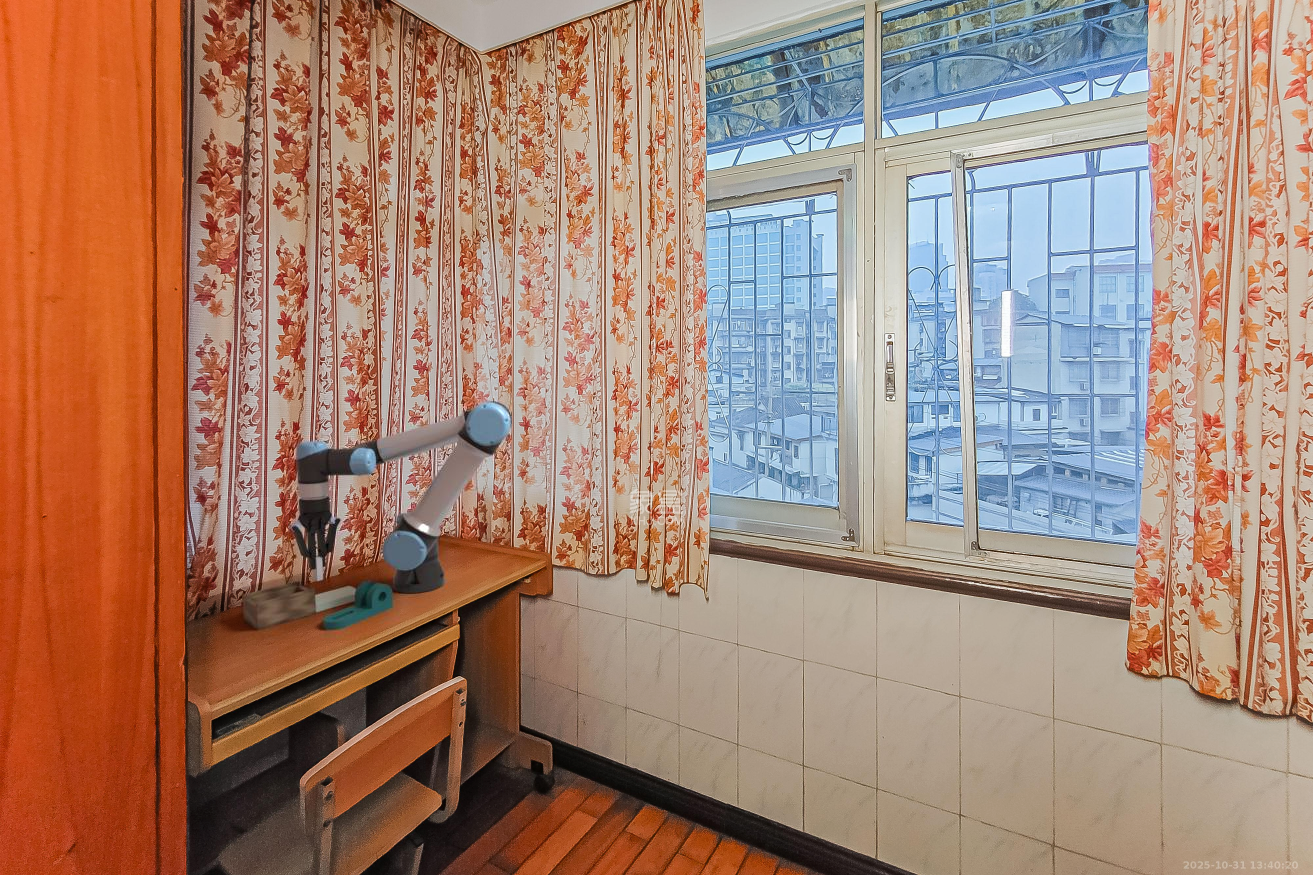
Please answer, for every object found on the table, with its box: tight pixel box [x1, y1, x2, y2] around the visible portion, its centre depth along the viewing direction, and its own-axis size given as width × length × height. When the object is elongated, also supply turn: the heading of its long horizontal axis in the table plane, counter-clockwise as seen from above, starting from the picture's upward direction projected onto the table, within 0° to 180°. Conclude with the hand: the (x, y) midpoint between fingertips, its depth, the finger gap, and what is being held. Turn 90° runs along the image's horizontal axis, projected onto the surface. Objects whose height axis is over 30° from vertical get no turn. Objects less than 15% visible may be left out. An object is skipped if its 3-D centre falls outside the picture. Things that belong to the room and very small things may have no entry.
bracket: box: [322, 580, 394, 631], centre depth 162 cm, size 18×7×8 cm, turn 155°
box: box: [241, 580, 317, 631], centre depth 161 cm, size 14×10×7 cm
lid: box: [315, 585, 357, 613], centre depth 173 cm, size 13×8×2 cm, turn 142°
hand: (318, 579), depth 169 cm, fingers closed
